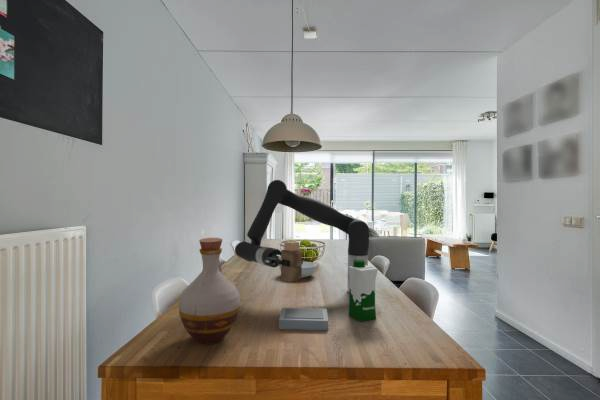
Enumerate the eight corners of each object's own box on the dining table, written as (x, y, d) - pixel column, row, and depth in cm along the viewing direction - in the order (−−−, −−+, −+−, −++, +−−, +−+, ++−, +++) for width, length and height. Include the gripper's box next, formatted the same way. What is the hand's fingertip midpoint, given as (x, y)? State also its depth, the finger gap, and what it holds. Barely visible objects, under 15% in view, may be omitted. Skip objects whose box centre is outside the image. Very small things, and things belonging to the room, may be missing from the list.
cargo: (292, 248, 127) (292, 241, 127) (299, 250, 124) (299, 242, 124) (284, 249, 125) (284, 242, 125) (291, 251, 122) (291, 243, 122)
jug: (193, 324, 109) (194, 234, 110) (246, 325, 109) (247, 235, 109) (167, 351, 90) (168, 242, 90) (232, 353, 89) (233, 243, 89)
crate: (291, 276, 128) (292, 248, 128) (301, 279, 124) (301, 250, 124) (281, 278, 125) (281, 249, 125) (290, 281, 121) (290, 251, 121)
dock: (326, 317, 118) (326, 308, 118) (328, 330, 106) (328, 320, 106) (282, 316, 119) (282, 307, 119) (278, 328, 107) (279, 319, 107)
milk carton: (364, 311, 125) (364, 258, 125) (380, 319, 117) (380, 262, 117) (345, 314, 121) (345, 260, 121) (360, 323, 113) (361, 264, 113)
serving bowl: (317, 281, 172) (317, 268, 172) (277, 280, 172) (277, 267, 172) (315, 272, 193) (316, 260, 193) (280, 272, 193) (280, 260, 193)
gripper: (254, 249, 130) (281, 254, 118) (282, 246, 140) (309, 251, 127) (254, 268, 130) (281, 275, 118) (282, 263, 140) (309, 270, 127)
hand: (295, 262), depth 123 cm, fingers closed on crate, 5 cm apart
